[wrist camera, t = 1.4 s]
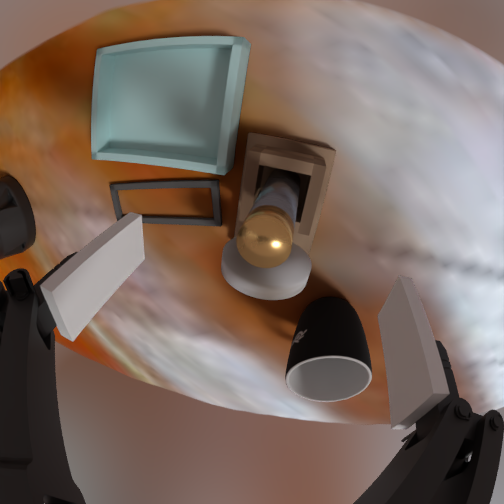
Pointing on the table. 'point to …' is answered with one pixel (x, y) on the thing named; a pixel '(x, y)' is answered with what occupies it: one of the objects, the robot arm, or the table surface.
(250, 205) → the tensioner block
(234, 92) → the tray
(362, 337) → the mug
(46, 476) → the robot arm
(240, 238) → the pin
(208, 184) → the dark gray rectangular frame
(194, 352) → the table surface
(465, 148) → the table surface
